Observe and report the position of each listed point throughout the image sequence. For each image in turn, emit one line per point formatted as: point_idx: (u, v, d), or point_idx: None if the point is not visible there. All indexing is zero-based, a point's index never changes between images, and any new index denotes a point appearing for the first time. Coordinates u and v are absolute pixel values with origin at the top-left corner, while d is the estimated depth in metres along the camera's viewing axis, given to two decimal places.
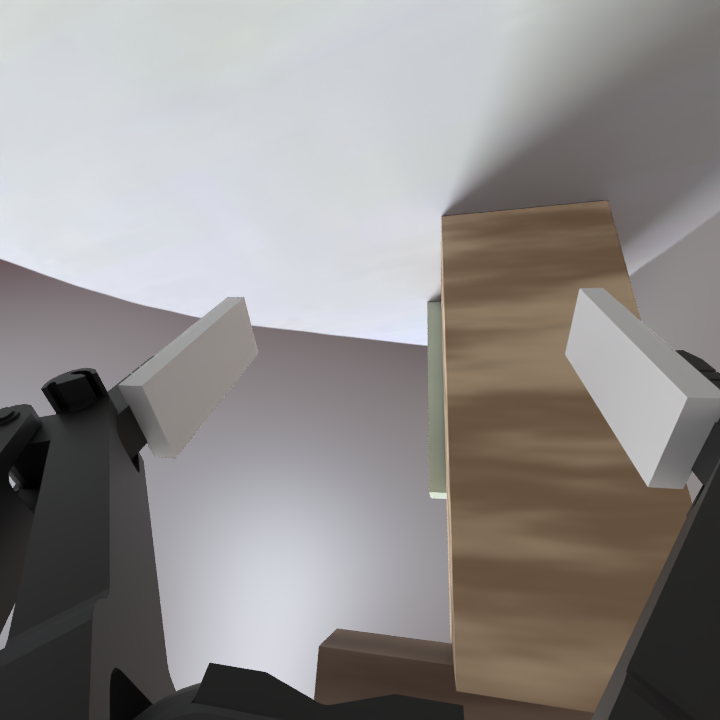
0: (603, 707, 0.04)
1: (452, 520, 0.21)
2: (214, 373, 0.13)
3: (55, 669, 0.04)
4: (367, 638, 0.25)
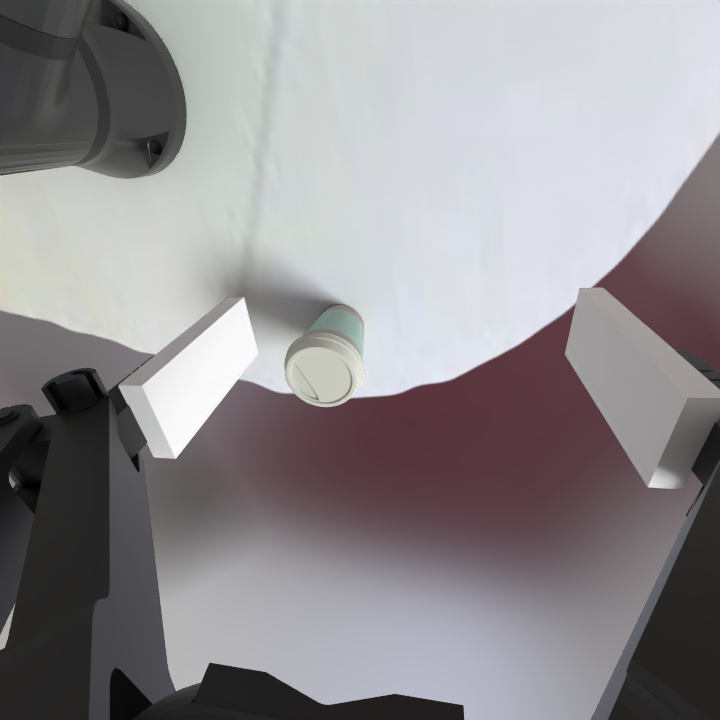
0: (603, 707, 0.04)
1: None
2: (214, 373, 0.13)
3: (55, 669, 0.04)
4: None
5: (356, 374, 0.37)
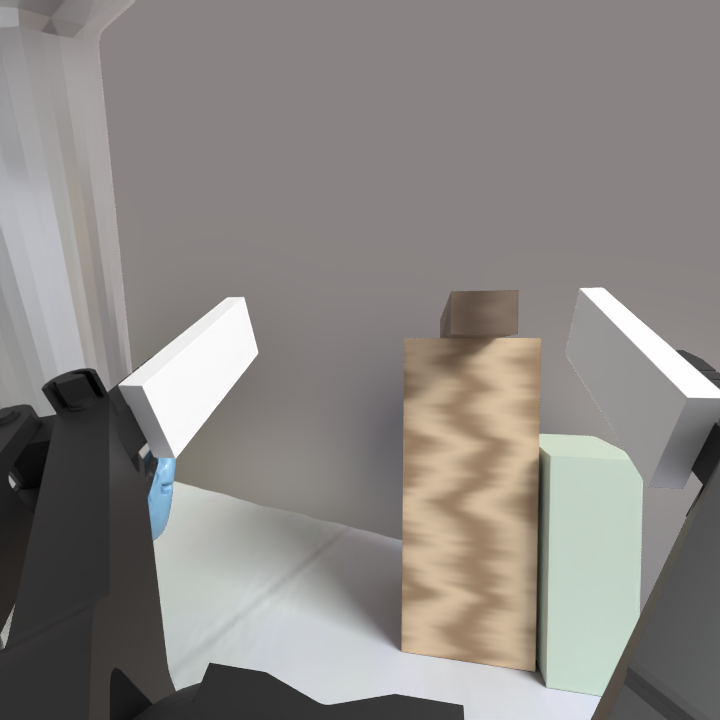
0: (603, 707, 0.04)
1: None
2: (214, 373, 0.13)
3: (55, 669, 0.04)
4: (488, 335, 0.28)
5: None
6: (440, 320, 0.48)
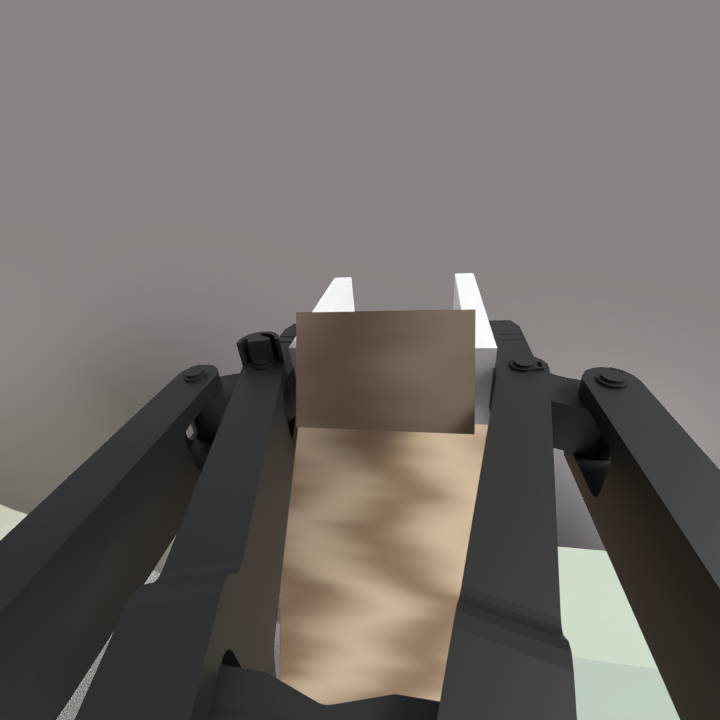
0: None
1: None
2: None
3: (182, 634, 0.04)
4: None
5: None
6: None
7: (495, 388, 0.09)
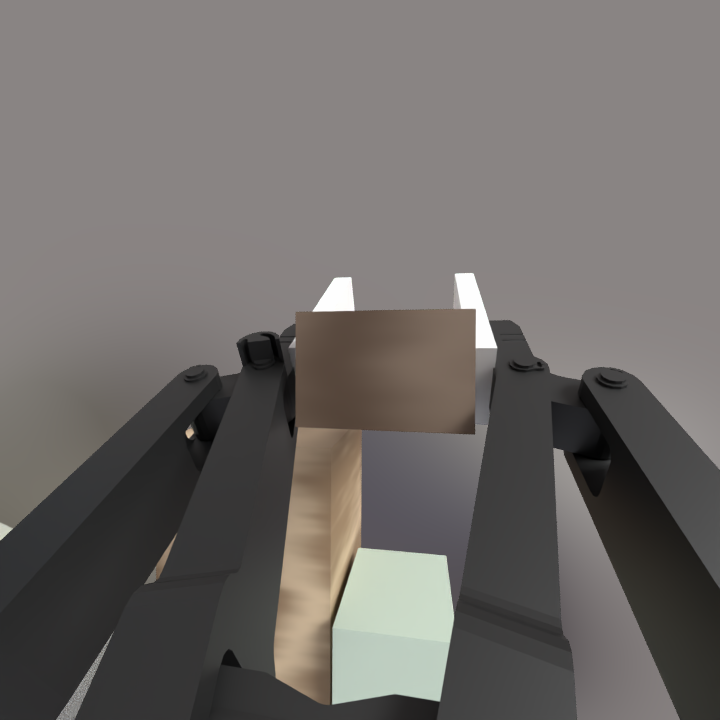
0: None
1: None
2: None
3: (182, 634, 0.04)
4: None
5: None
6: None
7: (495, 388, 0.09)
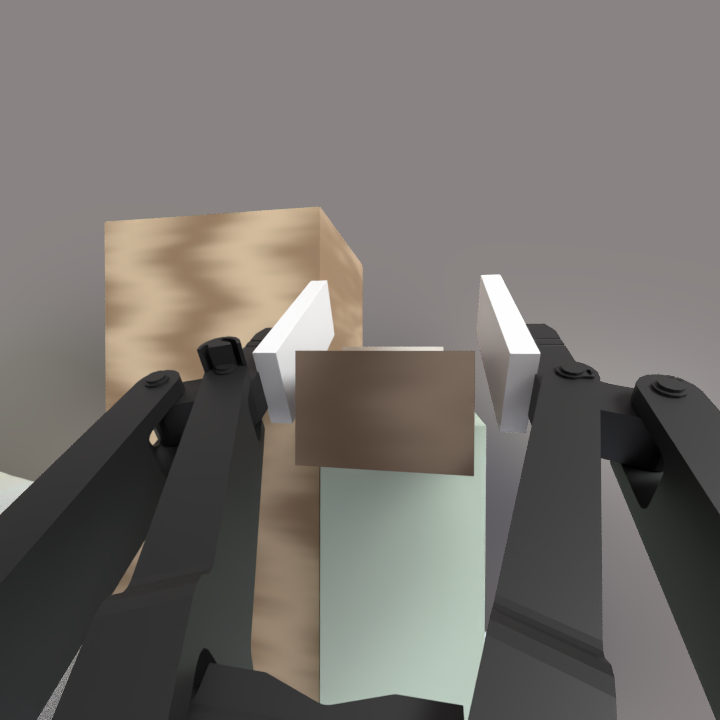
0: None
1: (107, 361, 0.20)
2: (311, 349, 0.14)
3: (156, 636, 0.04)
4: None
5: None
6: None
7: (539, 394, 0.08)
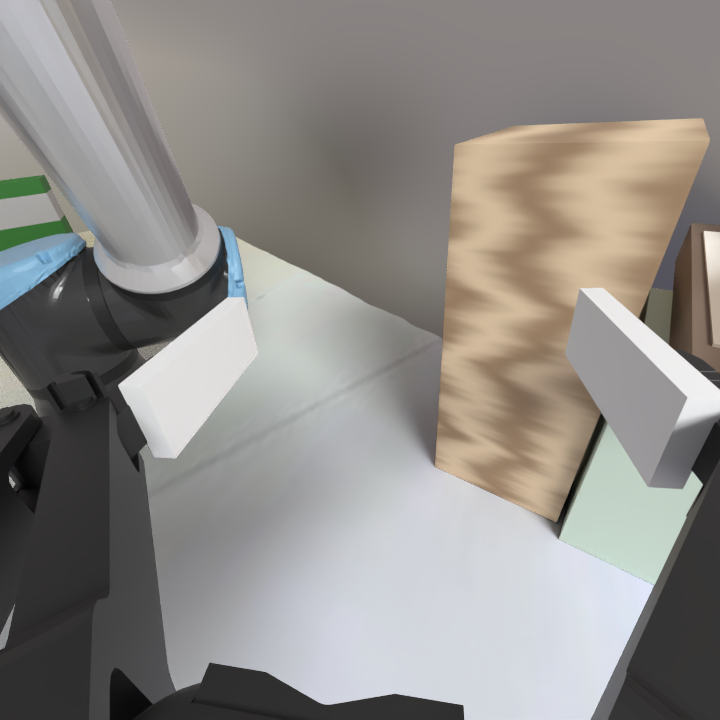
0: (603, 707, 0.04)
1: (448, 263, 0.27)
2: (214, 373, 0.13)
3: (55, 669, 0.04)
4: None
5: None
6: (690, 226, 0.29)
7: None
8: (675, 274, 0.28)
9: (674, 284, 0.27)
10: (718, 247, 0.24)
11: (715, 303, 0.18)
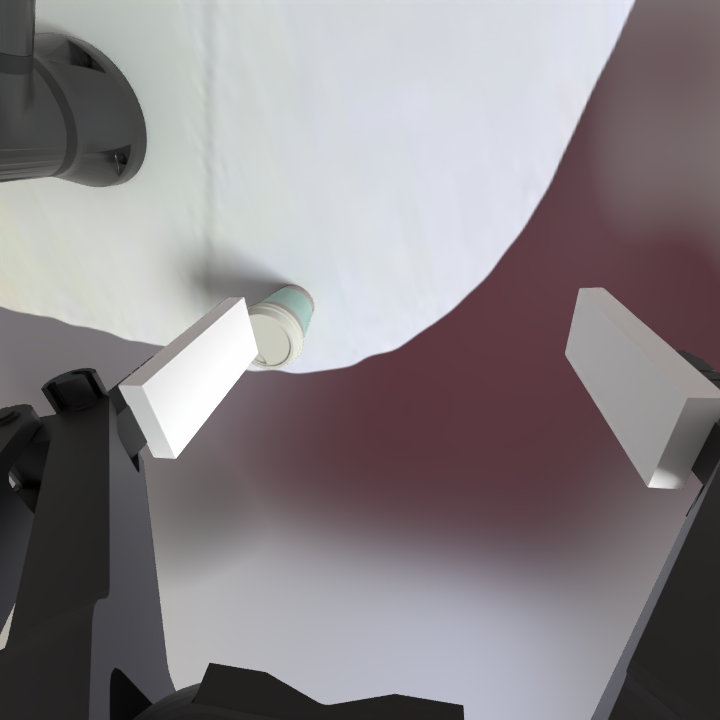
0: (603, 707, 0.04)
1: None
2: (214, 373, 0.13)
3: (56, 669, 0.04)
4: None
5: (292, 337, 0.43)
6: None
7: None
8: None
9: None
10: None
11: None
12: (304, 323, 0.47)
